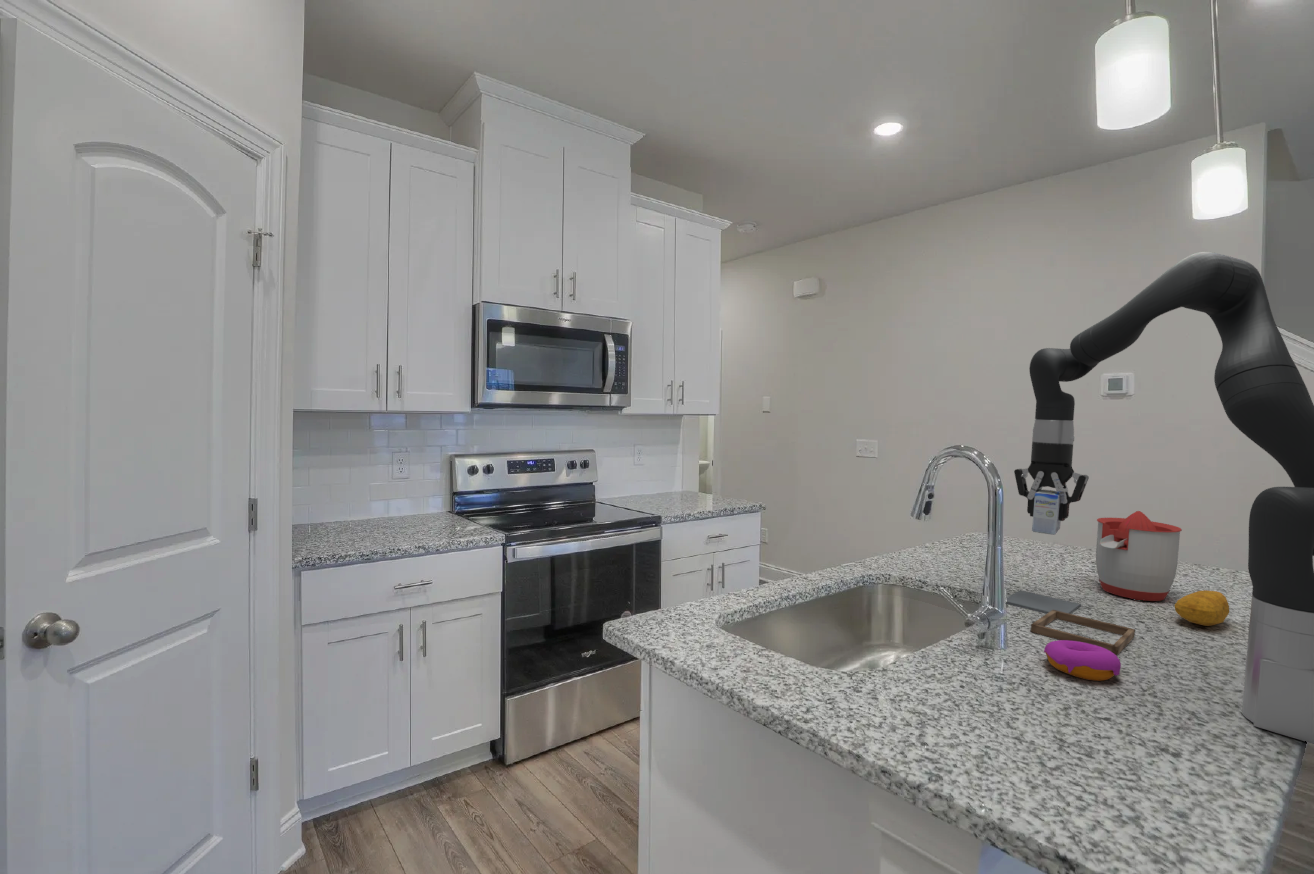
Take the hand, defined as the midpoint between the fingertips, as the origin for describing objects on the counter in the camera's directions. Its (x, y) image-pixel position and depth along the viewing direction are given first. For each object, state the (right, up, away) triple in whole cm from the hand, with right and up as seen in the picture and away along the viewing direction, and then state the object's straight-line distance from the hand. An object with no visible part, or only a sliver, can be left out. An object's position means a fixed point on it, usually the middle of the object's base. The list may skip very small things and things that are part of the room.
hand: (1047, 517), depth 132 cm
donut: (-16, -21, -33) cm, 42 cm away
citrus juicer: (+26, -20, +10) cm, 34 cm away
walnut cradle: (-4, -20, -16) cm, 26 cm away
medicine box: (0, -3, 0) cm, 3 cm away
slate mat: (-1, -19, +1) cm, 19 cm away
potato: (+26, -21, -8) cm, 35 cm away
